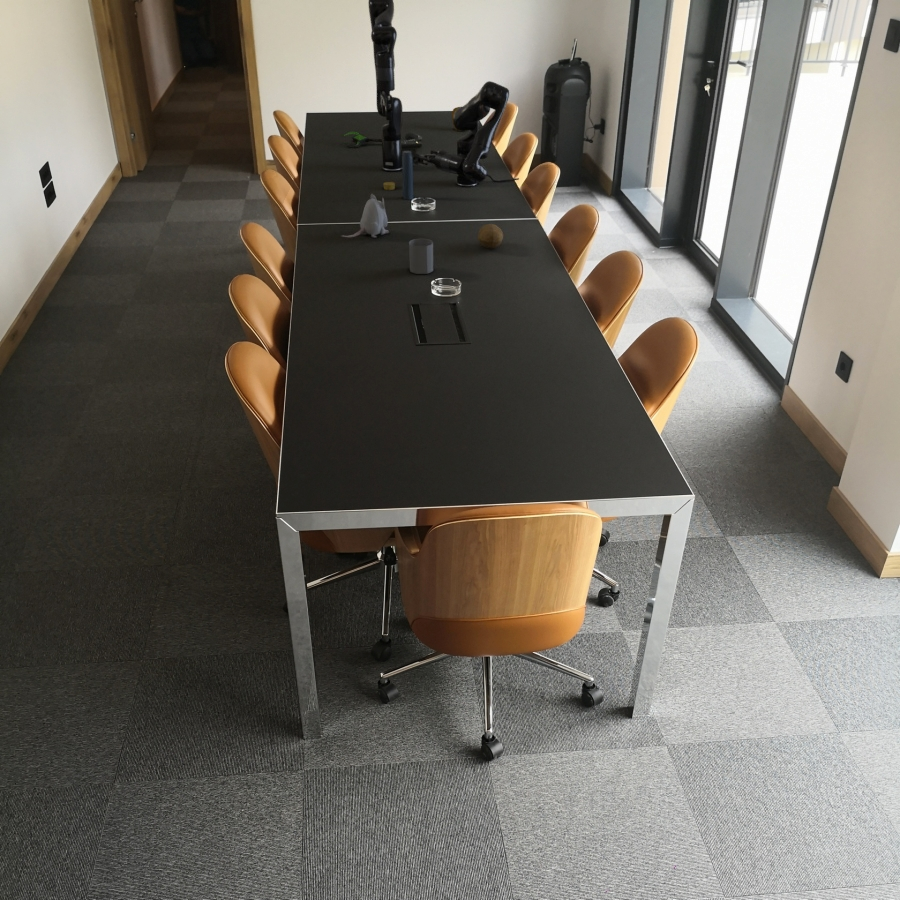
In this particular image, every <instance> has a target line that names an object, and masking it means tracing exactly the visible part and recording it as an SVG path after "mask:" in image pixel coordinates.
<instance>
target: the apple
mask: <svg viewBox="0 0 900 900" xmlns="http://www.w3.org/2000/svg"><path fill="white" fill-rule="evenodd" d="M461 107H463V105H461V106H457V107H454V108H452V111H451V121H452V125H453V128H454V129H455V131H457V132H462V131H461V130H457V129H456V128H455V126H454V122H453V117H454V114H455V112H456V110H457V109H459V108H461Z"/></svg>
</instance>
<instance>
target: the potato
mask: <svg viewBox="0 0 900 900" xmlns="http://www.w3.org/2000/svg"><path fill="white" fill-rule="evenodd" d="M503 238H504V233H503V230H502V229H501V228H500V227H499V226H497V225H496V224H494V223H487V224H486V223H485V224H484V225H482V227H481V228H480V229H479V231H478V234H477V241H478V242H479V244H480V245H481V246H483V247H484V248H487V249H496V248H497V247H499V246H500V245H501V244H502V241H503Z"/></svg>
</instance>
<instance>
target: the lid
mask: <svg viewBox="0 0 900 900" xmlns="http://www.w3.org/2000/svg"><path fill="white" fill-rule="evenodd" d="M383 189H384V190H385V191H394V190H395V189H396V183H395V182H393V181H385V182H383Z"/></svg>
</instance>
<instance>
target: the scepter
mask: <svg viewBox="0 0 900 900" xmlns="http://www.w3.org/2000/svg"><path fill="white" fill-rule="evenodd" d="M348 135H353V136H351V139H352V140H351V142H352V143H354V144H355V145H354V144H349V143H346V142H342V144H343V145H345V146H346V147H349V148H359V147H360V146H362V145H365V144H368V143H369V142H371V143H382V138H369V137H368V136H365V135H364V134H362V133H360V132H358V131H349V132H347V133H344V134H342V136H343V137H345V136H348Z"/></svg>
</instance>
